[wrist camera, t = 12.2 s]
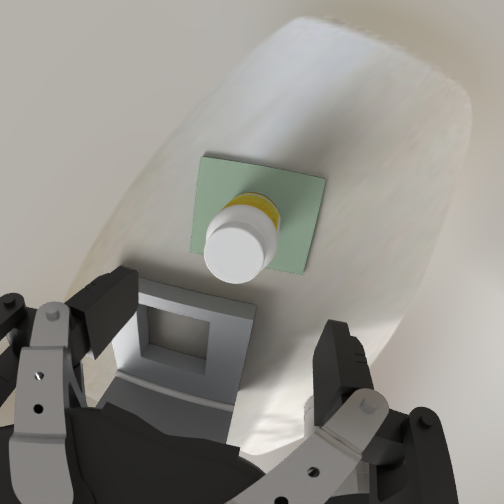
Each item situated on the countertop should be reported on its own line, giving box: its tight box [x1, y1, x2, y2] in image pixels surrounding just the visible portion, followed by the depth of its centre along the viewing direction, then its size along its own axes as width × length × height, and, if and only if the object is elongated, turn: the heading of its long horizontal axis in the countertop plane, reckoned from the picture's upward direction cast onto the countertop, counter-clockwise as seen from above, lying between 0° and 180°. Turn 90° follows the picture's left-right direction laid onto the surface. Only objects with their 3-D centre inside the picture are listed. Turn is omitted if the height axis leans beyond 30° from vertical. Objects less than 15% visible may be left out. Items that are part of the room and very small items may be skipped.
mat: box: [190, 157, 326, 275], centre depth 27 cm, size 12×10×1 cm
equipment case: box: [95, 277, 256, 444], centre depth 26 cm, size 18×17×19 cm
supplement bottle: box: [204, 191, 280, 284], centre depth 22 cm, size 5×5×10 cm
